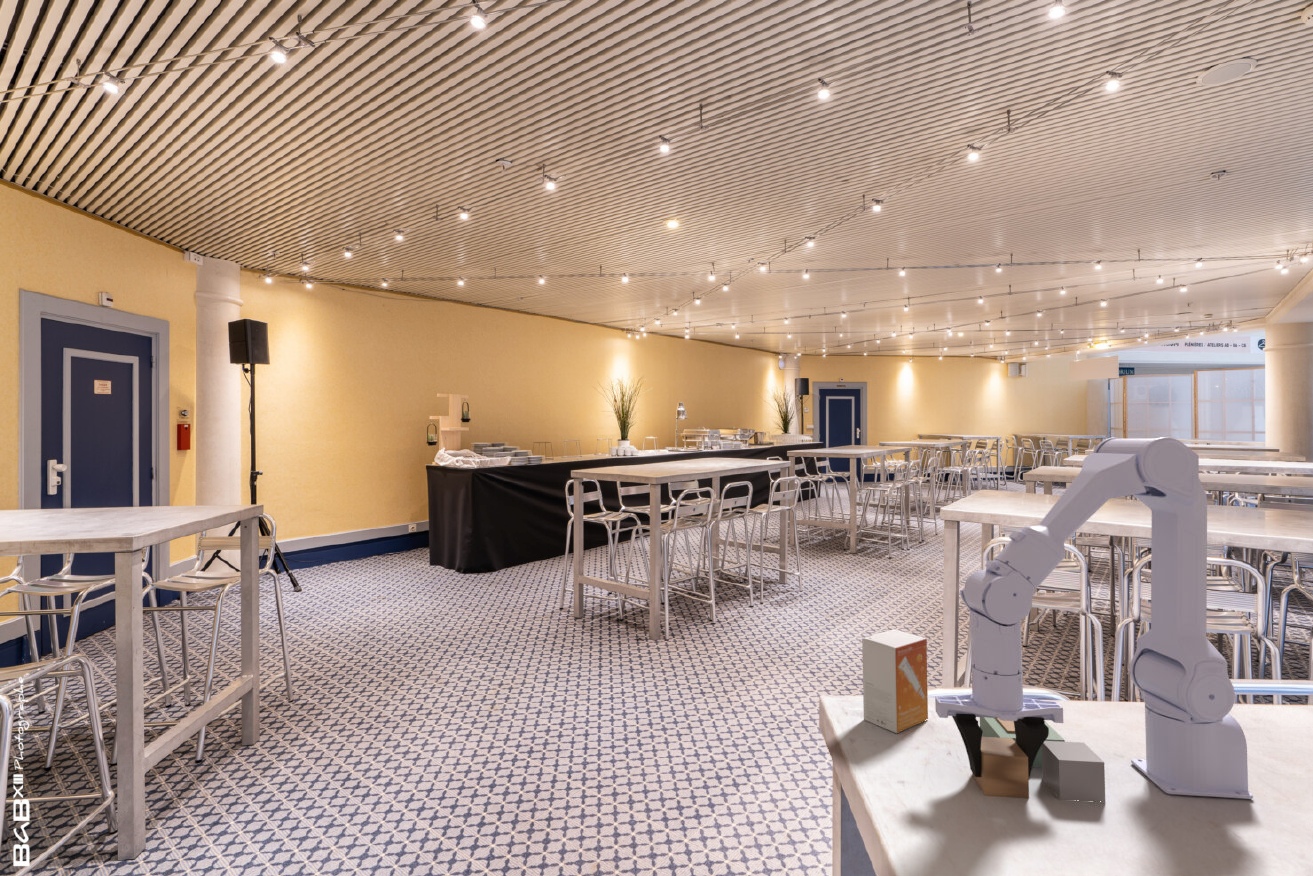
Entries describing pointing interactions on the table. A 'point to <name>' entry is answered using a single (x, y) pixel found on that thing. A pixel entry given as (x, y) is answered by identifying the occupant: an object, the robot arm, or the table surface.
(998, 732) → the green block
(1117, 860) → the table surface
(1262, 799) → the table surface
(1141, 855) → the table surface
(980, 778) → the walnut cube
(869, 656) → the small box
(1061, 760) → the grey cube
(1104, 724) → the table surface
